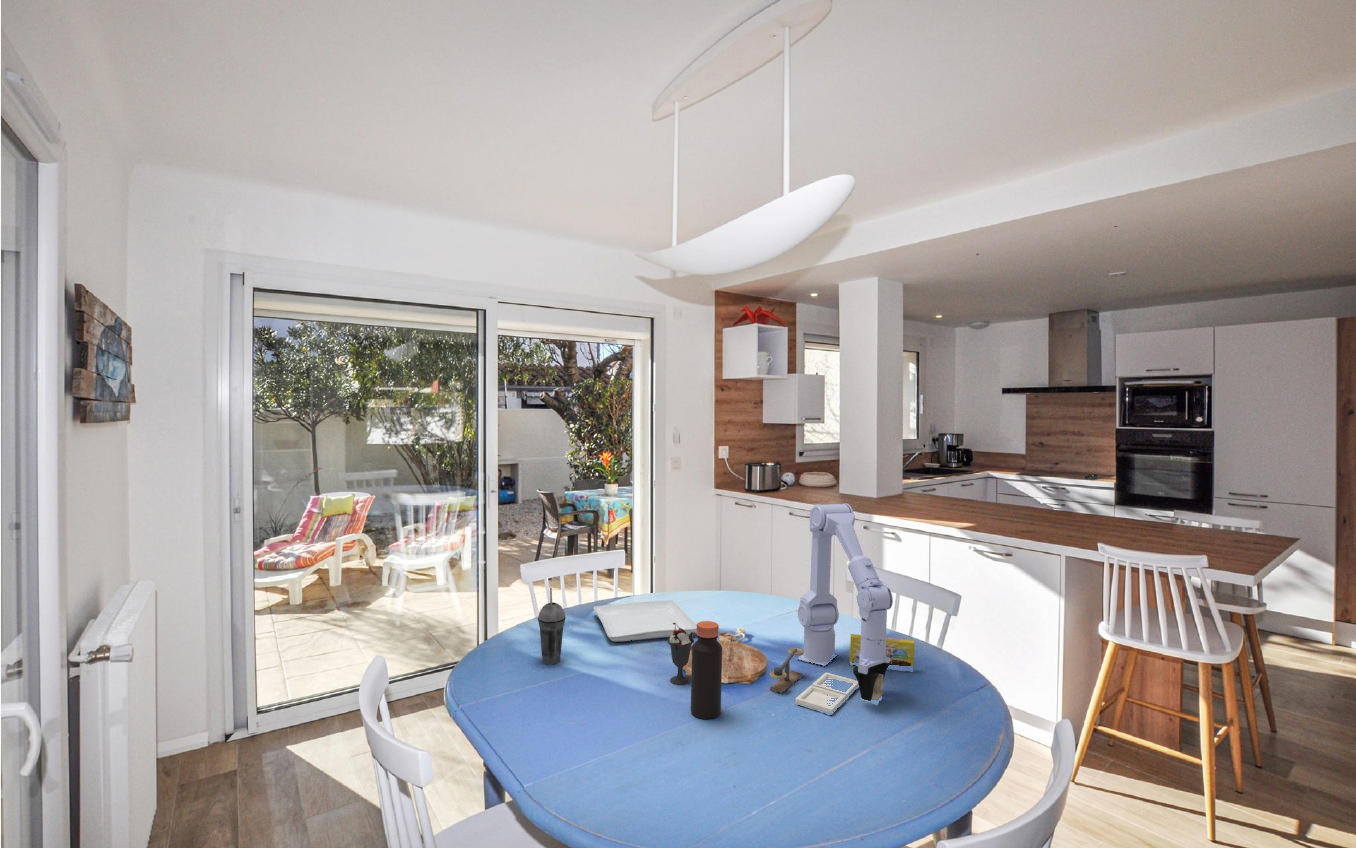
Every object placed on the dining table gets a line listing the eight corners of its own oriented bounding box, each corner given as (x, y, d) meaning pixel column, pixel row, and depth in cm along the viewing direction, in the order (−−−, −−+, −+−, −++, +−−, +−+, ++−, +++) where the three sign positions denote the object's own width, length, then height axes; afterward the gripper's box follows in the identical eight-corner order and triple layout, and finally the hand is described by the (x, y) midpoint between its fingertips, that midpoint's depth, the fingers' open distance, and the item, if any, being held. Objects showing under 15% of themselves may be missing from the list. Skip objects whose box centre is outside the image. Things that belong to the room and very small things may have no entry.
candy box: (849, 666, 172) (850, 636, 172) (849, 663, 174) (850, 633, 174) (913, 674, 168) (914, 642, 168) (912, 670, 171) (913, 639, 170)
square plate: (592, 617, 208) (592, 605, 208) (673, 610, 216) (673, 599, 216) (608, 648, 182) (608, 634, 182) (699, 639, 191) (700, 626, 190)
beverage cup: (568, 656, 175) (569, 583, 174) (560, 667, 168) (561, 591, 167) (542, 655, 176) (543, 582, 175) (533, 666, 168) (534, 590, 168)
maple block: (865, 694, 156) (866, 670, 155) (882, 699, 153) (883, 674, 153) (860, 701, 152) (861, 676, 152) (877, 706, 150) (877, 680, 150)
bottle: (686, 708, 147) (687, 621, 146) (713, 703, 149) (715, 618, 149) (697, 722, 141) (699, 631, 140) (725, 717, 143) (727, 628, 142)
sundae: (661, 683, 160) (662, 623, 159) (674, 673, 166) (675, 615, 165) (685, 689, 157) (686, 627, 156) (697, 678, 163) (698, 619, 162)
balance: (791, 671, 168) (792, 644, 168) (805, 675, 166) (806, 648, 165) (766, 691, 156) (767, 661, 156) (781, 695, 154) (782, 665, 154)
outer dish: (810, 691, 157) (810, 685, 157) (845, 701, 152) (845, 695, 152) (795, 705, 149) (795, 698, 149) (831, 716, 144) (831, 709, 144)
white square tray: (825, 678, 164) (825, 672, 164) (859, 687, 159) (859, 681, 159) (811, 690, 157) (811, 684, 157) (846, 700, 152) (846, 694, 152)
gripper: (880, 650, 144) (878, 710, 144) (899, 631, 156) (897, 687, 156) (849, 642, 148) (848, 701, 148) (870, 625, 160) (869, 679, 160)
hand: (871, 693), depth 153 cm, fingers open, 7 cm apart
